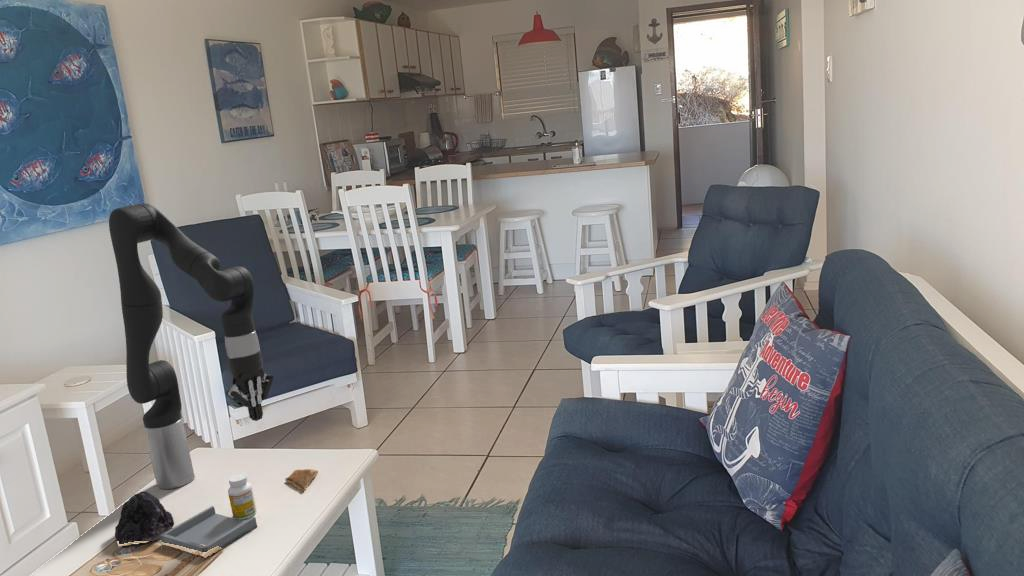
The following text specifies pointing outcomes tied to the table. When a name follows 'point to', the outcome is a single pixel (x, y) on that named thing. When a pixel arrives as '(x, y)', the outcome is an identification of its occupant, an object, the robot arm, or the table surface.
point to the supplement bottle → (241, 497)
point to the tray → (208, 531)
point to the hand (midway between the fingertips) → (257, 419)
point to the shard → (301, 478)
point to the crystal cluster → (143, 519)
